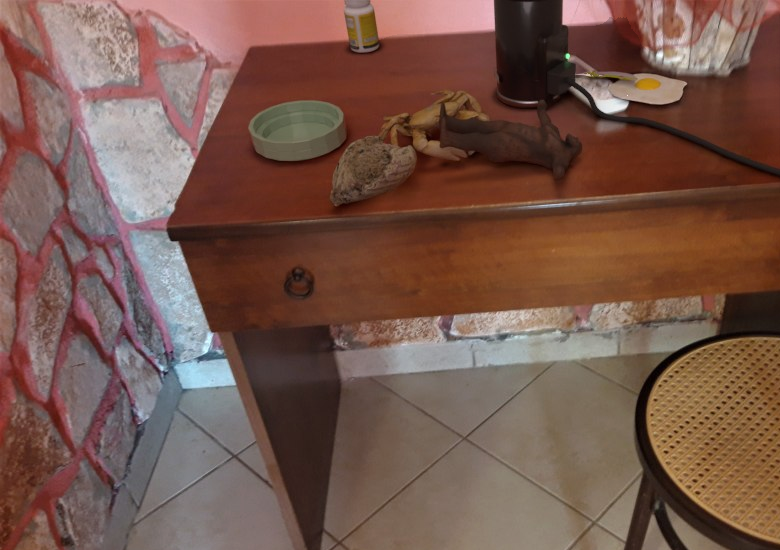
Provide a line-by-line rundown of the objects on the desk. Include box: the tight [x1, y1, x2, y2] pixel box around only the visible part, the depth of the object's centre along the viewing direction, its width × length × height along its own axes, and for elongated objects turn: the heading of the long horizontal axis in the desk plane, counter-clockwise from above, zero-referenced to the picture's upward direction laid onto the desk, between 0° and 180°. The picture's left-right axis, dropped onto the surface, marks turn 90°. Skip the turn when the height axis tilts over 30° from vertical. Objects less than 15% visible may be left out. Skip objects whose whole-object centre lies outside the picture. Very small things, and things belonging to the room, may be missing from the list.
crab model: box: [377, 89, 491, 162], centre depth 99 cm, size 16×13×6 cm
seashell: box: [329, 135, 418, 207], centre depth 90 cm, size 11×7×10 cm
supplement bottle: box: [343, 0, 380, 54], centre depth 123 cm, size 5×5×8 cm
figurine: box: [437, 100, 583, 181], centre depth 94 cm, size 18×5×18 cm
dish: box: [247, 99, 348, 162], centre depth 101 cm, size 12×12×3 cm
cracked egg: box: [608, 73, 688, 105], centre depth 111 cm, size 10×11×1 cm
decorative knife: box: [584, 69, 638, 82], centre depth 113 cm, size 12×1×5 cm
